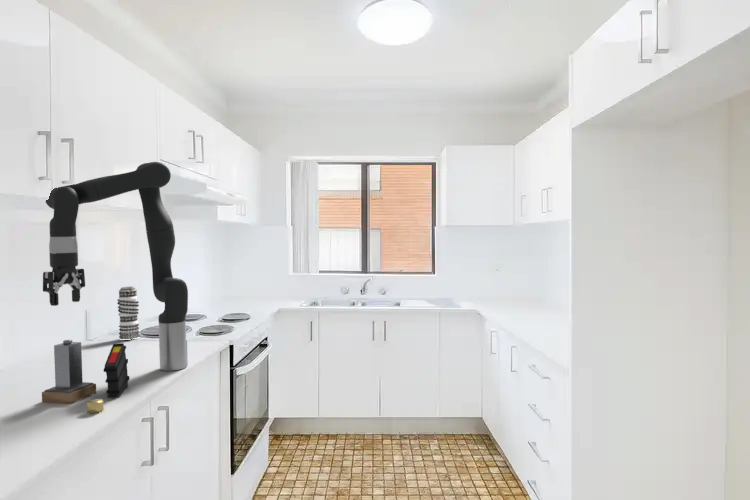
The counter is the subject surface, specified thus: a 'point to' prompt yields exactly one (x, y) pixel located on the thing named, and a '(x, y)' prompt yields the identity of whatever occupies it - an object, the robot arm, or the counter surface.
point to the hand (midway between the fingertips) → (65, 303)
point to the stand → (68, 393)
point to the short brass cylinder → (95, 406)
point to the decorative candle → (128, 313)
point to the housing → (68, 365)
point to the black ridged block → (116, 371)
